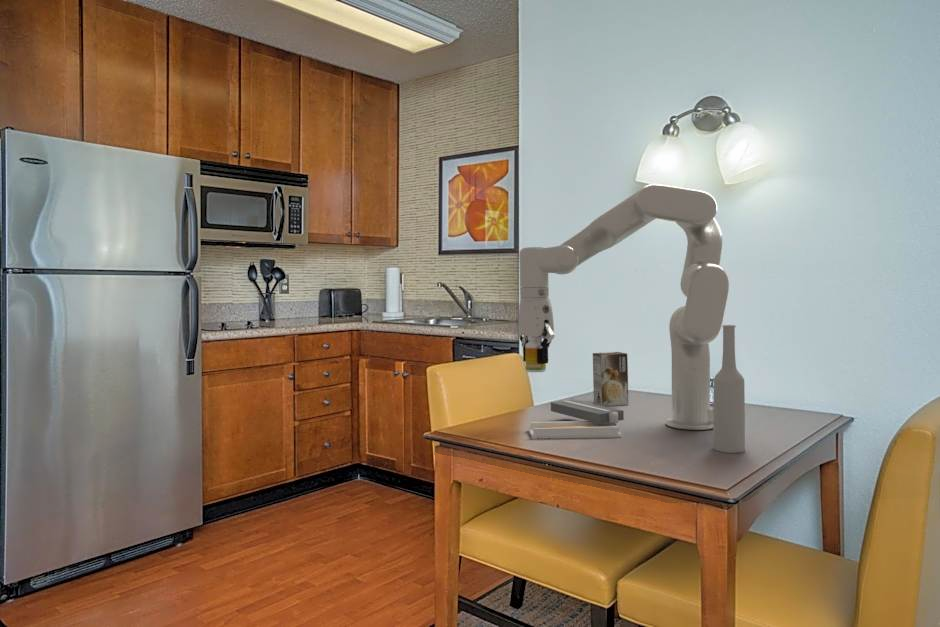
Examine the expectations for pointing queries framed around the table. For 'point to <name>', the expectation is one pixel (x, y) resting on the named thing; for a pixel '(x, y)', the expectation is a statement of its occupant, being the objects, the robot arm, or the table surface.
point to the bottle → (729, 400)
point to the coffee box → (610, 378)
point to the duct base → (573, 430)
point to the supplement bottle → (533, 356)
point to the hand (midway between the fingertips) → (535, 361)
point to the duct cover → (588, 411)
